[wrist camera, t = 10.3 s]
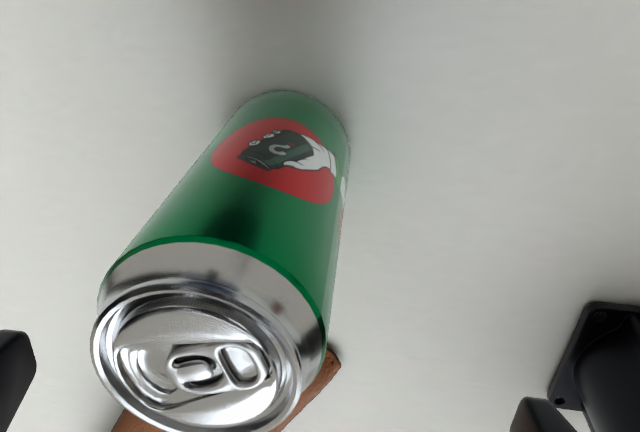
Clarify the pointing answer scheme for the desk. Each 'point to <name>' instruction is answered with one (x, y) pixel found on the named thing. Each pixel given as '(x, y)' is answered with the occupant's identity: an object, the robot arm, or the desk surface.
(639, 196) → the desk surface
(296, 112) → the soda can
